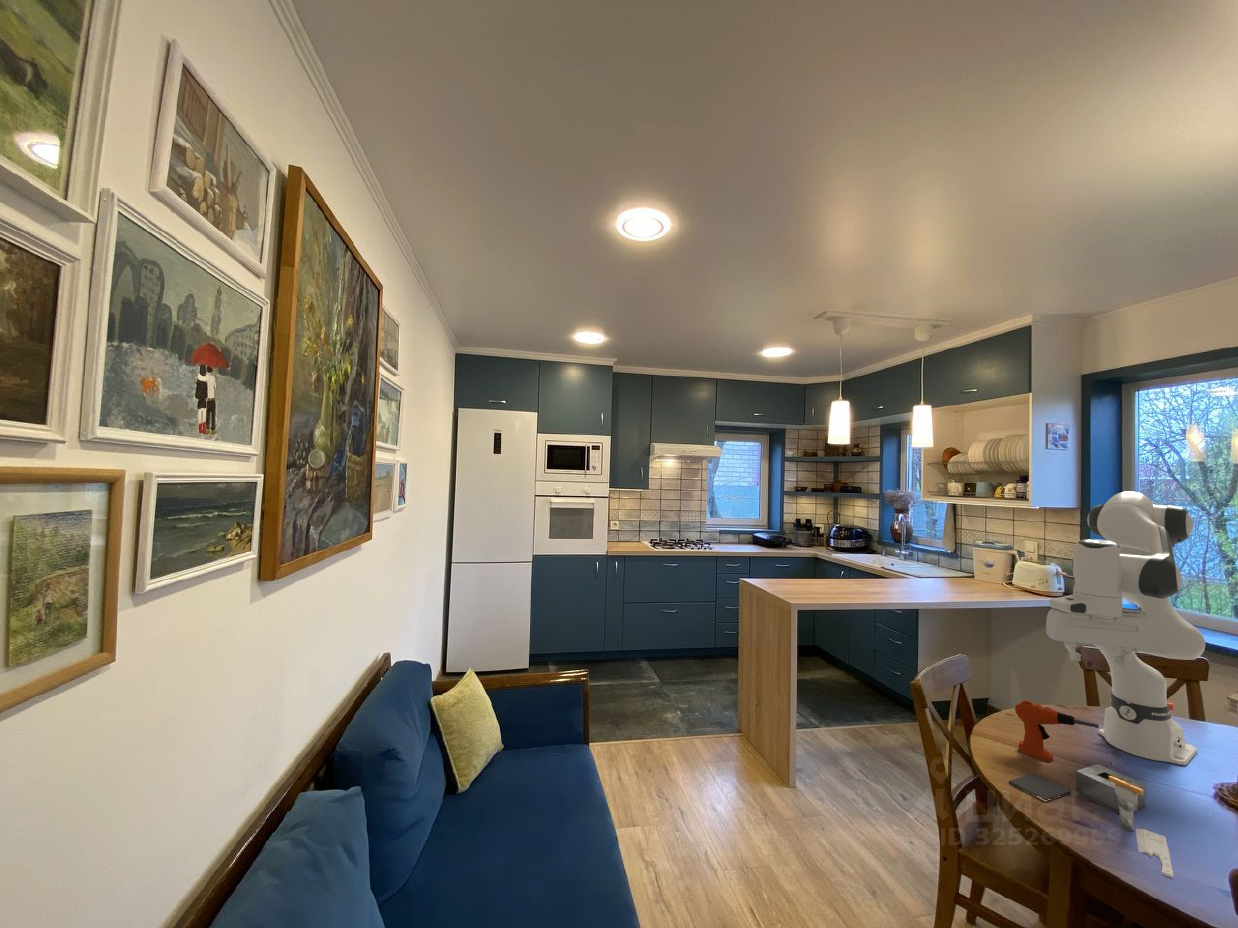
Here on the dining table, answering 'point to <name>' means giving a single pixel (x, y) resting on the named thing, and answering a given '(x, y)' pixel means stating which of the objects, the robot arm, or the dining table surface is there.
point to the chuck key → (1126, 801)
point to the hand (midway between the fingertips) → (1097, 662)
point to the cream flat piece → (1155, 849)
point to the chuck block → (1103, 786)
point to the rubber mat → (1039, 786)
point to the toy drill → (1041, 727)
